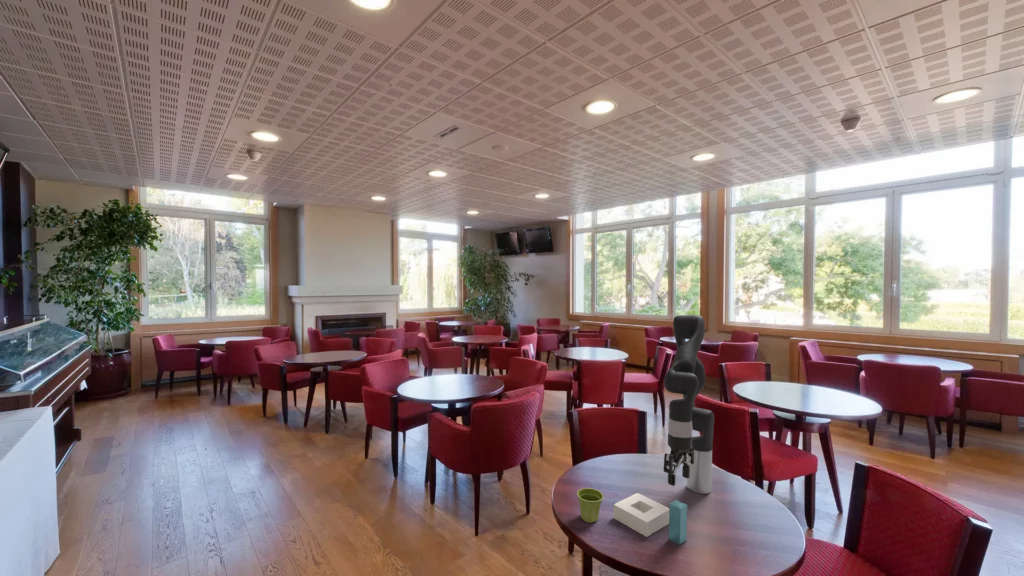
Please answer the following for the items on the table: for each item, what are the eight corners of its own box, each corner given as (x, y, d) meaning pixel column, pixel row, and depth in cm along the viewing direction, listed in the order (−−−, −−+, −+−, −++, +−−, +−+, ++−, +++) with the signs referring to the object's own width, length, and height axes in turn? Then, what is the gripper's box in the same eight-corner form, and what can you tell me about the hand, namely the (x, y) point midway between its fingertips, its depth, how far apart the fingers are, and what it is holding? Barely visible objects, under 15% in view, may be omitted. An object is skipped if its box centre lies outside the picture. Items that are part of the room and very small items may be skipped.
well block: (637, 505, 162) (637, 492, 162) (670, 522, 151) (670, 508, 151) (613, 518, 154) (613, 504, 154) (646, 537, 143) (647, 522, 142)
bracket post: (675, 534, 144) (676, 499, 144) (686, 540, 141) (687, 504, 141) (668, 539, 142) (669, 503, 141) (679, 545, 138) (680, 508, 138)
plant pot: (604, 514, 156) (604, 490, 156) (601, 528, 147) (601, 503, 147) (579, 509, 159) (579, 486, 159) (574, 522, 150) (574, 498, 150)
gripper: (681, 425, 148) (680, 471, 148) (657, 433, 139) (656, 482, 139) (702, 431, 142) (700, 479, 142) (678, 440, 133) (677, 492, 133)
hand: (678, 481), depth 141 cm, fingers open, 8 cm apart
